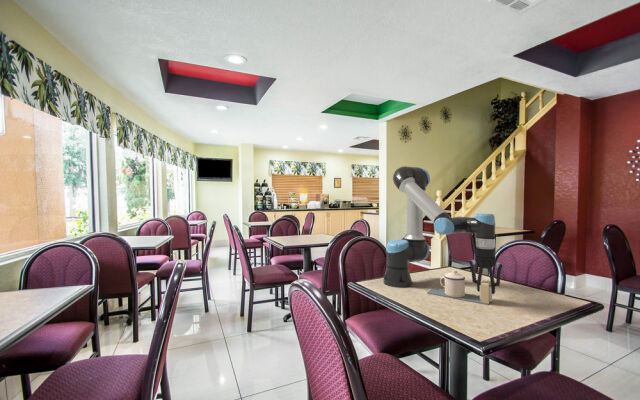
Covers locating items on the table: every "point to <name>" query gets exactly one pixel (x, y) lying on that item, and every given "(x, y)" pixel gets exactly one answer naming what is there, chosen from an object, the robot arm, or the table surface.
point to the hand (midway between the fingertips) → (486, 299)
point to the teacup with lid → (454, 284)
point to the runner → (468, 297)
